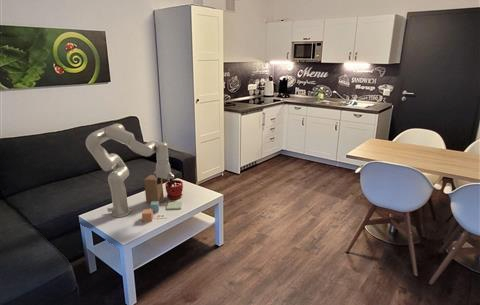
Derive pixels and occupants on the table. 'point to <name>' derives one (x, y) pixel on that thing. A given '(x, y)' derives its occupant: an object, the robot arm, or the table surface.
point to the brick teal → (155, 206)
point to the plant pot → (174, 189)
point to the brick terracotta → (147, 215)
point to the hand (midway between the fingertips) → (164, 185)
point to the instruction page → (160, 216)
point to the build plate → (174, 205)
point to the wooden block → (153, 190)
